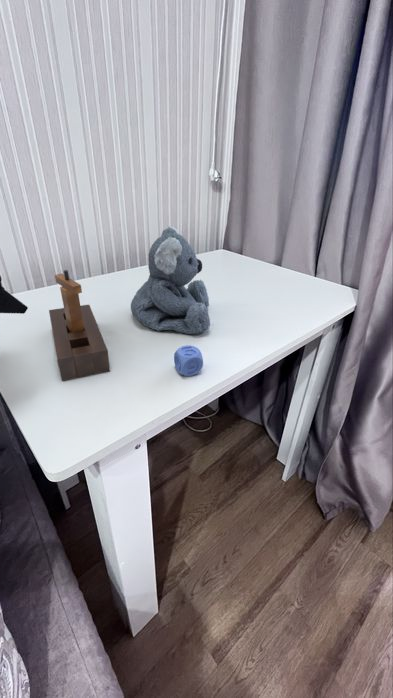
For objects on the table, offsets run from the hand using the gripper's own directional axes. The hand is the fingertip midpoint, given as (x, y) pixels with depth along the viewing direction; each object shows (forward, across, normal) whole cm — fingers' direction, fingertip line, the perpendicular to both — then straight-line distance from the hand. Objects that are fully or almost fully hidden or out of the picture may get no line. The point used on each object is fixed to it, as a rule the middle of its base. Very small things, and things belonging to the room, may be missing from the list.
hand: (13, 300), depth 52 cm
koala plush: (+31, -2, -12) cm, 33 cm away
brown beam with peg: (+15, 0, +3) cm, 16 cm away
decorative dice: (+23, -19, -5) cm, 30 cm away
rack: (+15, 0, +3) cm, 16 cm away
